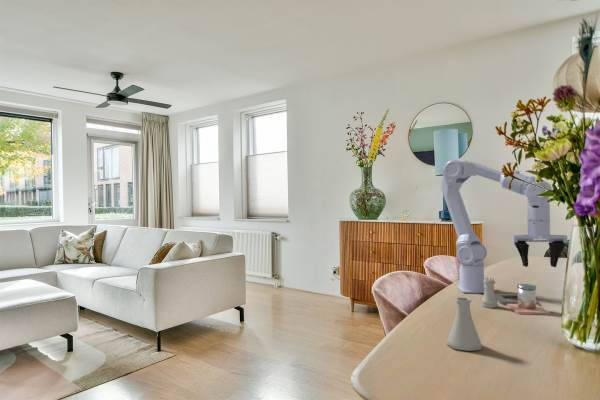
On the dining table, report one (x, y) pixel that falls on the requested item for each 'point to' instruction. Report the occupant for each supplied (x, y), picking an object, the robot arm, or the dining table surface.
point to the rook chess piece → (489, 294)
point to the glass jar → (526, 296)
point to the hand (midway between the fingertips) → (539, 266)
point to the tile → (537, 311)
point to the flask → (464, 328)
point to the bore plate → (503, 301)
